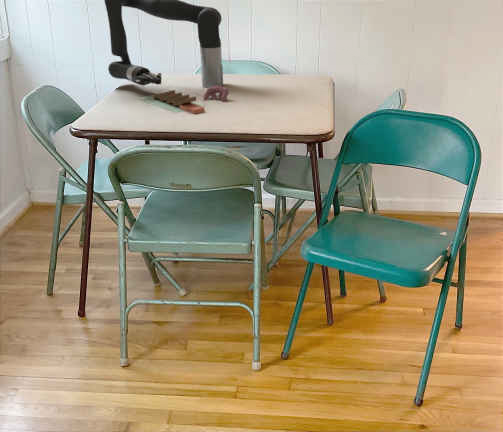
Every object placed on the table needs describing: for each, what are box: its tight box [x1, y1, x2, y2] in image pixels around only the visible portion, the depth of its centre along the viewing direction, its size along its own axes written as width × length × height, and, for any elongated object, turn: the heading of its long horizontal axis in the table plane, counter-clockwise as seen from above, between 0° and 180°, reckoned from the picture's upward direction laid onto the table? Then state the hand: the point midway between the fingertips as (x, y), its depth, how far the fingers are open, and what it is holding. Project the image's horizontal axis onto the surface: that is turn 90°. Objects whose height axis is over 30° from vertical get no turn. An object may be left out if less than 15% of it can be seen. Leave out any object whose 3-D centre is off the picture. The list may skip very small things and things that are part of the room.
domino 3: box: [166, 94, 190, 104], centre depth 254 cm, size 2×5×10 cm
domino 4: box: [173, 96, 198, 106], centre depth 250 cm, size 2×5×10 cm
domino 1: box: [152, 89, 176, 99], centre depth 261 cm, size 2×5×10 cm
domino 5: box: [179, 103, 205, 115], centre depth 247 cm, size 2×5×10 cm
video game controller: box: [203, 86, 230, 103], centre depth 261 cm, size 10×5×7 cm, turn 66°
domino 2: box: [159, 92, 183, 101], centre depth 258 cm, size 2×5×10 cm
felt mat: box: [137, 94, 205, 114], centre depth 259 cm, size 30×14×1 cm, turn 39°
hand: (159, 81), depth 261 cm, fingers closed
